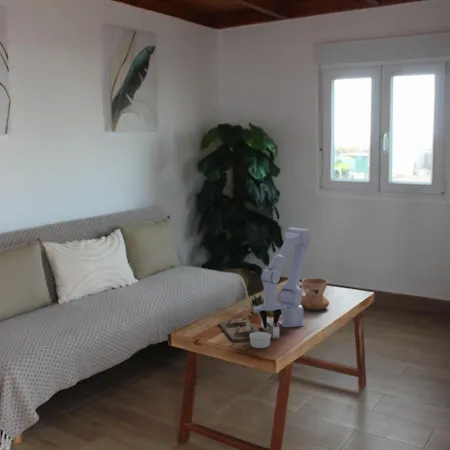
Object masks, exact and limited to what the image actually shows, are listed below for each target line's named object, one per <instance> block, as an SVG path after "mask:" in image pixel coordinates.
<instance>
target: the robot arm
mask: <svg viewBox="0 0 450 450" xmlns="http://www.w3.org/2000/svg"><path fill="white" fill-rule="evenodd" d="M311 236H312V235H311V233H310V230H309V229H308V228H297V227H292V226H289V227H288V228H287V229H286V231H285V233H284V242H283V244H282V246H281V248H280V250H279V252H278V254H276V255H275V254H274V256H273V258H272V260H271V261H270V262H269V264H268V266H267V268H265V269H263V270H262V272H261V275H260V280H261V282H262V286H263V304H264V305H263V306H258V307H254V306H253V313H255V314H256V313H259V315H260V318H262V321H263V325H264V328H267V316H268V314H267V312H269V311H273V315H272V316H273V317H272V318H273V320H272V321H273V322H274V323H275V324H276V325H278V323H279V324H280V325H281V326H282V327H284V328H293V327H303V326H304V325H305V324H304V308H303V307H302V305H300V304H301V301H302V297H303V290H302V288H301V287H300V286H299V284H300V279H301V276H302V272H303V266H304V262H305V259H306V256H307V255H306V253H307V250H308V248H309V245H310V242H311V241H310V240H311ZM292 249H294V251H293V256H292V260H291V263H290V268H289V272H288V277H287V281H286V282H285V283H284V284H283V285H281V287H280V290H279V292H278V283H279V281H281V279H280V278H281V274H282V270H283V268H284V267H285V265H286V263H287V261H286V260H287V259H286V258H287V256H288V255H289V253H290V252H291V250H292ZM278 303H280V304H278ZM281 310H282V312H281ZM280 317H281V320H279V319H280Z"/></svg>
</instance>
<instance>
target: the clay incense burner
mask: <svg viewBox="0 0 450 450" xmlns="http://www.w3.org/2000/svg"><path fill="white" fill-rule="evenodd" d="M301 284H302V288H303V291H304V293H305V295H303V296H302V301H301V304H300V305H302V307H303V310H304V309H305V310H308V311H312V312H313V311H323V310H325V309H327V308H328V307H329V305H330V302H329V299H327V297H325V295H324V293H325V291H326V289H327V286H328V281H327V280H326V279H324V278H320V277H307V278H304V279H302V280H301Z"/></svg>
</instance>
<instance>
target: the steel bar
mask: <svg viewBox="0 0 450 450" xmlns="http://www.w3.org/2000/svg"><path fill="white" fill-rule="evenodd" d="M260 318H261V317H260ZM260 320H261V321H260V322H261V323H260V324H261V325H260V328H262V329H263V331H264V332H266V333H269V334H271V339H279V338H280V326H279V325H278V324H277V325H276V324H275V323H274V322H273V320H272V319H271V318H270V317H269V316H268V315H267V328H264V325H263V321H262V318H261V319H260Z"/></svg>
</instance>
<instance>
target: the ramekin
mask: <svg viewBox="0 0 450 450" xmlns="http://www.w3.org/2000/svg"><path fill="white" fill-rule="evenodd" d="M249 337H250V341H249V342H250V343H249V344H250V346H251V347H253V348H256V349H264V348H265V349H266V348H269V347H270V345H271V339H272V337H271V334H269V333H267V332H266V331H260V332H253V333H251V334H250V335H249Z"/></svg>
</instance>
